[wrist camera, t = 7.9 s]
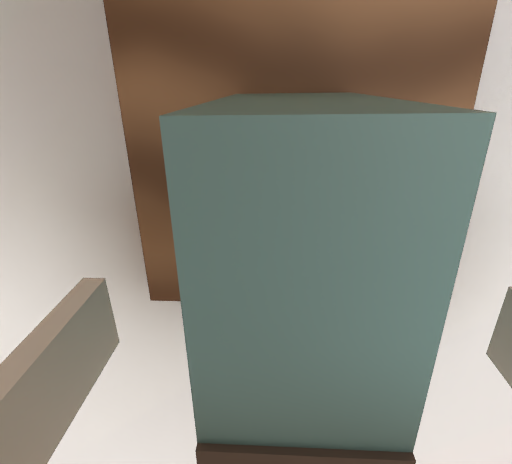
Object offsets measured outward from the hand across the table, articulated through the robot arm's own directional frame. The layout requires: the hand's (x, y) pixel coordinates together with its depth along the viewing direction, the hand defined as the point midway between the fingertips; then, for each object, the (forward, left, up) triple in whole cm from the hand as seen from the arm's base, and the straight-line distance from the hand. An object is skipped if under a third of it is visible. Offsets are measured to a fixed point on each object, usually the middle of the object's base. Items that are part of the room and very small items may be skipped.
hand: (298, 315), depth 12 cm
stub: (-2, 0, -7) cm, 7 cm away
